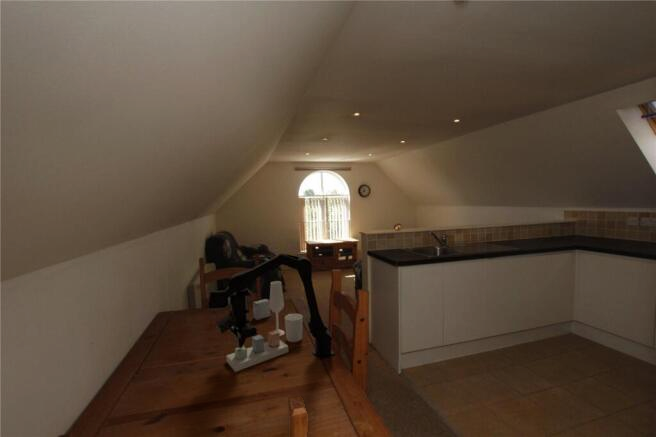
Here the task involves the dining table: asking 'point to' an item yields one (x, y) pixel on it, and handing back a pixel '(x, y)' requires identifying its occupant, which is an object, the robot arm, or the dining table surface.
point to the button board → (256, 356)
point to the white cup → (293, 327)
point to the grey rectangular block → (257, 343)
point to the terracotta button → (273, 338)
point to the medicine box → (261, 309)
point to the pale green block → (240, 353)
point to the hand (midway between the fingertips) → (240, 347)
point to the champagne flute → (276, 301)
